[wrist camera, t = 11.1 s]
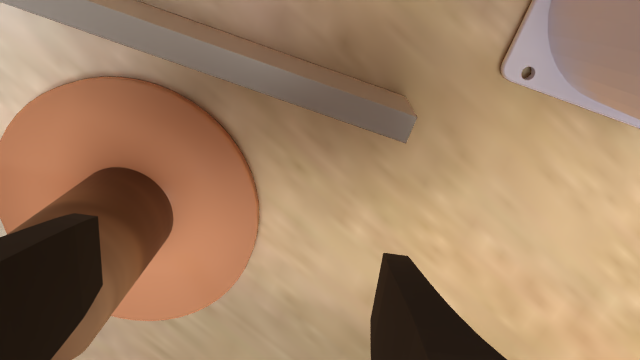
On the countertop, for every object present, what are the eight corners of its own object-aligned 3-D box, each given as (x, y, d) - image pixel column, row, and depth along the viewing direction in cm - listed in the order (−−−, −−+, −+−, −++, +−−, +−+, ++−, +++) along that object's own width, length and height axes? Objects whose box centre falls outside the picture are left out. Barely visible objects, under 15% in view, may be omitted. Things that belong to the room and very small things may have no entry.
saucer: (291, 130, 20) (289, 136, 19) (223, 338, 24) (219, 349, 24) (16, 35, 19) (2, 37, 18) (-3, 268, 24) (-15, 277, 23)
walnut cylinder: (173, 174, 20) (91, 260, 14) (172, 260, 22) (99, 373, 15) (74, 160, 20) (-56, 239, 14) (80, 247, 22) (-32, 354, 15)
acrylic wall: (405, 96, 19) (417, 117, 16) (396, 118, 20) (405, 143, 16) (-82, -77, 18) (-177, -94, 14) (-82, -50, 18) (-175, -60, 15)
